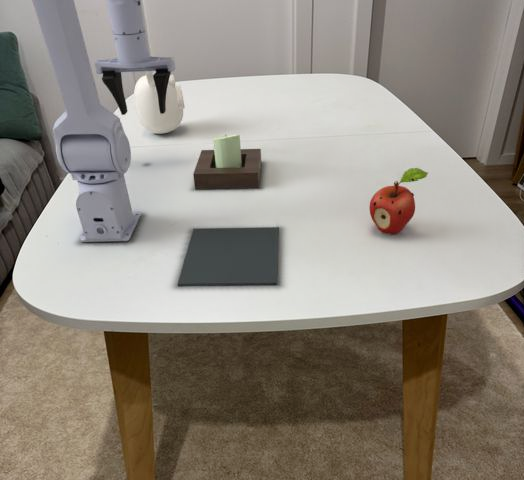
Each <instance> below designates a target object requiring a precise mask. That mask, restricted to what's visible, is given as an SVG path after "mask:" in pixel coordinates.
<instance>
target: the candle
mask: <svg viewBox="0 0 524 480" xmlns="http://www.w3.org/2000/svg"><path fill="white" fill-rule="evenodd" d="M212 140H213V150H214V152H215V162H216V168H232V167H242V162H241V149H242V148H241V135H240V134H231V135H227V134H225V135H224V136H218V137H214V138H213V139H212Z"/></svg>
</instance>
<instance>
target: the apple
mask: <svg viewBox="0 0 524 480" xmlns="http://www.w3.org/2000/svg"><path fill="white" fill-rule="evenodd" d="M428 174H429V172H427V171H424V170H423V169H422V168H419V167H415V168H414V167H411V168H408V169H407V170H405V171H404V173H403V174H402V176H401V179H400V180H399V181H398V180H395V181H394V182H393V185H387V186H384V187H382V188H380V189H378V191H376V192H375V193H374V194H373V195H372V197H371V199H370V201H369V208H368V209H369V214H370V218H371V219H372V221H373V223H374V225H375V227H376V228H377V229H378V231H379V232H380V233H383V234H388V235H392V236H393V235H398V234H399V233H400V232H402V230H403V229H404V228H405V227H406V226H407V224H409V222H410V221H411V220H412V219H413V217H414V215H415V212H416V201H415V198H414V197H415V194H414V193H413V192H411V191H410V189H408V188H407V187H405V186H403V185H400V184H402V183H412V182H417V181H419V180H423V179H425V178H427V177H428Z"/></svg>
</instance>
